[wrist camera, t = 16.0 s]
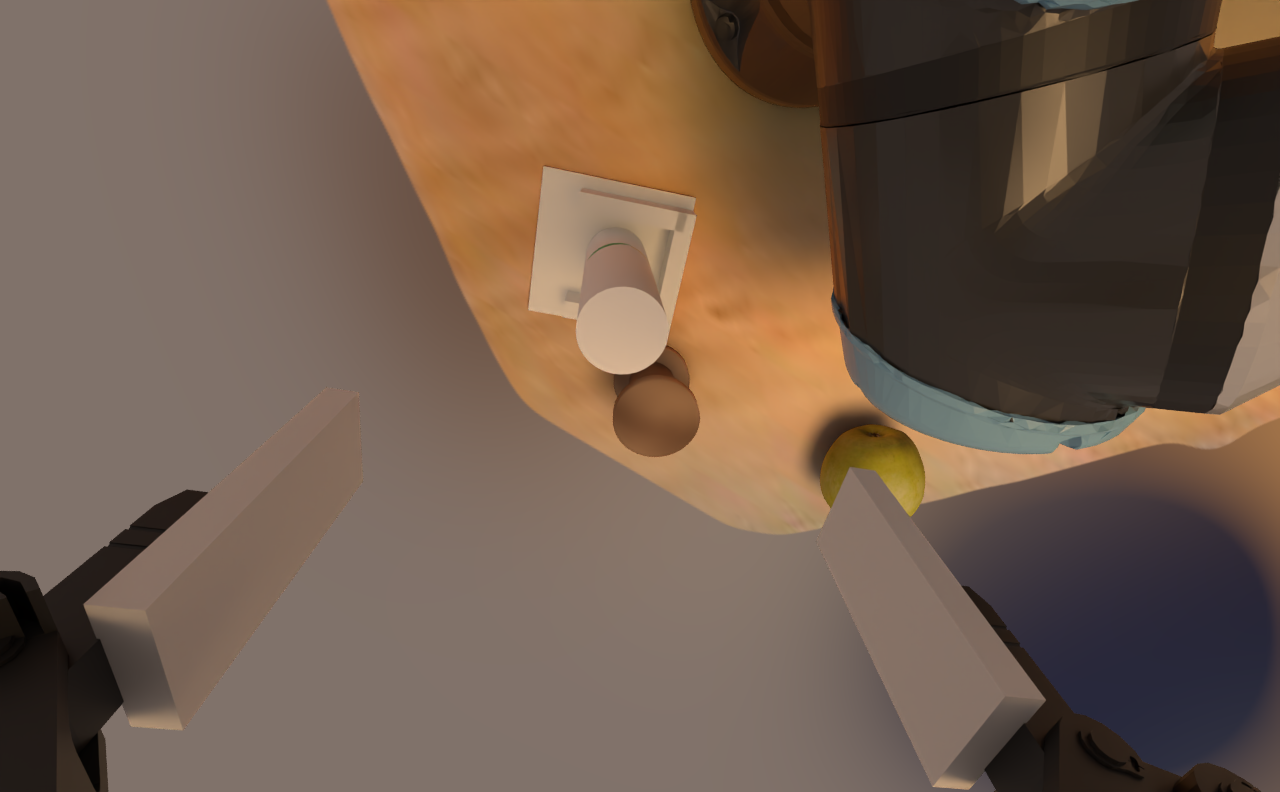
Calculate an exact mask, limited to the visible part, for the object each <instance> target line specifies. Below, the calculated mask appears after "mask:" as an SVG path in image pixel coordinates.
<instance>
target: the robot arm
mask: <svg viewBox="0 0 1280 792" xmlns="http://www.w3.org/2000/svg"><path fill="white" fill-rule="evenodd" d="M1221 2H1222V0H691V5H692V10H693V13H694V17H695V21H696V23H697V26H698V29H699V32H700V34H701V37H702V39H703V41H704V43H705V45H706V47H707V49H708V51H709V52H710V54H711V56H712V57H713V59H714V60H715V62H716V63H717V65H718V66H719V67H720V68H721V70H722V71H723V72H724V73H725V74H726V75H727V76H728V77H729V78H730V79H731V80H732V81H733V82H734V83H735V84H736V85H737V86H739V87H740V88H741V89H743V90H744V91H746V92H747V93H749V94H751V95H752V96H754V97H756V98H758V99H760V100H763V101H765V102H768V103H771V104H775V105H779V106H784V107H794V108H804V107H816V106H819V112H820V132H821V142H822V153H823V165H824V177H825V189H826V201H827V212H828V224H829V236H830V248H831V260H832V272H833V284H834V288H833V293H832V297H831V302H832V310H833V313H834V316H835V319H836V321H837V323H838V325H839V326H840V333H841V340H842V347H843V353H844V359H845V364H846V367H847V370H848V372H849V375H850V377H851V379H852V381H853V382H854V383H855V384H856V385H857V386H858V387H859V388H860V389H861V390H862V392H863V393H864V395H865V397H866V398H867V399H868V400H869V401H870V402H871V403H872V404H873V405H874V406H875V407H877V408H878V409H879V410H881V411H882V412H883V413H885V414H886V415H888V416H889V417H891V418H892V419H894V420H896V421H897V422H899V423H901V424H903V425H905V426H907V427H909V428H911V429H913V430H916V431H918V432H920V433H923V434H925V435H928V436H931V437H934V438H937V439H940V440H943V441H946V442H950V443H954V444H957V445H961V446H965V447H970V448H975V449H980V450H986V451H993V452H1001V453H1013V454H1047V453H1052V452H1053V451H1054V450H1055V449H1056V448H1057V447H1058V445H1059V443H1060V444H1062V445H1065V446H1067V447H1070V448H1073V449H1082V448H1086V447H1091V446H1095V445H1098V444H1101V443H1103V442H1105V441H1108V440H1110V439H1112V438H1113V437H1115V436H1117V435H1119V434H1120V433H1121V432H1122V431H1123V430H1124V429H1125V428H1127V427H1128V426H1129V425H1130V424H1131V423H1132V422H1134V420H1135V419H1136V418H1137V417H1138V416H1140V415H1141V414H1142V413H1143V412H1144V410H1145V408H1157V409H1166V410H1176V411H1185V412H1195V413H1204V414H1218V415H1220V414H1222V413H1225V412H1227V411H1229V410H1231V409H1233V408H1235V407H1237V406H1239V405H1241V404H1243V403H1245V402H1247V401H1249V400H1251V399H1253V398H1255V397H1257V396H1259V395H1261V394H1263V393H1265V392H1267V391H1269V390H1271V389H1273V388H1275V387H1277V386H1279V385H1280V37H1275V38H1271V39H1266V40H1261V41H1256V42H1251V43H1246V44H1242V45H1237V46H1232V47H1227V48H1222V49H1217V48H1215V47H1213V45H1214V38H1215V32H1216V29H1217V21H1218V17H1219V12H1220V7H1221ZM361 450H362V449H361V428H360V408H359V392H353V391H346V390H340V389H333V388H325V389H324V390H323V391H322V392H321V393H320V394H319V395H318V396H316V397H315V398H314V399H313V400H312V401H311V402H310V403H309V404H307V405H306V406H305V407H304V408H303V409H302V410H301V411H300V412H298V413H297V414H296V415H295V416H294V417H293V418H292V419H291V420H289V421H288V422H287V423H286V424H285V425H284V426H283V427H282V428H281V429H279V430H278V431H277V432H276V433H275V434H274V435H273V436H272V437H270V438H269V439H268V440H267V441H266V442H265V443H264V444H263V445H261V446H260V447H259V448H258V449H257V450H256V451H255V452H254V453H252V454H251V455H250V456H249V457H248V458H247V459H246V460H245V461H243V463H241V464H240V465H239V466H238V467H237V468H236V469H235V470H233V471H232V472H231V473H230V474H229V475H228V476H227V477H226V478H225V479H223V480H222V481H221V482H220V483H219V484H218V485H217V486H216V487H214V488H213V489H212V490H211V491H210V492H200V491H193V490H185V491H183V492H182V493H179V494H177V495H175V496H173V497H171V498H169V499H167V500H165V501H163V502H160V503H158V504H156V505H154V506H153V507H152V508H151V509H150V510H148V511H147V512H146V513H145V514H143V515H142V516H141V517H140V518H138V519H137V520H136V521H135V522H134V523H132V524H131V525H130V528H129V530H127V529H125V530H124V531H123V532H121V533H120V534H119V535H118V536H117V537H115V538H114V539H113V540H112V541H110V544H109V546H108V547H105V546H104V547H103V548H102V549H100V550H99V551H98V552H97V553H96V554H94V555H93V556H92V557H91V558H89V559H88V560H87V561H86V562H84V563H83V564H82V565H81V566H80V567H79V568H77V569H76V570H75V571H74V572H72V573H71V574H70V575H69V576H67V577H66V578H65V579H64V580H62V581H61V582H60V583H59V584H58V585H56V586H55V587H54V588H53V589H51V590H50V591H49V592H48V593H47V594H45V595H44V596H43V595H42V592H41V590H40V588H39V586H38V584H37V582H36V579H35V577H32V576H30V575H27V574H25V573H22V572H20V571H0V792H108V778H107V761H106V744H105V738H104V735H103V733H102V731H101V728H102V727H103V725H104V724H105V723H106V722H107V721H108V720H109V718H110V717H111V716H112V715H113V714H114V712H116V710H117V709H118V708H119V707H120V706H121V705H123V708H124V710H125V713H126V715H127V718H128V720H129V723H130V725H131V727H145V728H159V729H172V730H184V729H185V727H186V726H187V724H188V723H189V722H190V720H191V719H192V717H193V716H194V715H195V713H196V712H197V711H198V709H199V708H200V706H201V705H202V704H203V702H204V701H205V699H206V698H207V697H208V695H209V694H210V693H211V691H212V690H213V688H214V687H215V686H216V684H217V683H218V682H219V680H220V679H221V677H222V676H223V675H224V673H225V672H226V670H227V669H228V668H229V666H230V665H231V663H232V662H233V661H234V659H235V658H236V657H237V655H238V654H239V652H240V651H241V650H242V648H243V647H244V645H245V644H246V642H247V641H248V640H249V639H250V637H251V636H252V634H253V633H254V632H255V630H256V629H257V627H258V626H259V625H260V623H261V622H262V621H263V619H264V618H265V616H266V615H267V614H268V612H269V611H270V610H271V608H272V607H273V605H274V604H275V603H276V601H277V600H278V598H279V597H280V596H281V594H282V593H283V592H284V590H285V589H286V587H287V586H288V585H289V583H290V582H291V580H292V579H293V577H294V576H295V575H296V574H297V572H298V571H299V569H300V568H301V567H302V565H303V564H304V562H305V561H306V560H307V558H308V557H309V555H310V554H311V553H312V551H313V550H314V549H315V547H316V546H317V544H318V543H319V542H320V540H321V539H322V537H323V536H324V535H325V533H326V532H327V531H328V529H329V528H330V526H331V525H332V524H333V522H334V521H335V519H336V518H337V516H338V515H339V514H340V513H341V511H342V510H343V508H344V507H345V506H346V504H347V503H348V501H349V500H350V499H351V497H352V496H353V494H354V493H355V492H356V490H357V489H358V488H359V486H360V485H361V483H362V482H363V470H362V451H361ZM816 542H817V544H818V546H819V549H820V551H821V553H822V555H823V557H824V559H825V561H826V563H827V565H828V567H829V569H830V572H831V574H832V576H833V578H834V580H835V582H836V584H837V586H838V589H839V591H840V593H841V595H842V597H843V599H844V601H845V603H846V605H847V607H848V609H849V612H850V614H851V616H852V618H853V620H854V622H855V624H856V626H857V629H858V631H859V633H860V635H861V637H862V639H863V641H864V643H865V645H866V648H867V649H868V652H869V654H870V656H871V658H872V660H873V662H874V664H875V666H876V668H877V671H878V673H879V675H880V677H881V679H882V681H883V683H884V685H885V687H886V690H887V692H888V694H889V696H890V698H891V700H892V702H893V704H894V707H895V709H896V711H897V713H898V715H899V717H900V719H901V721H902V723H903V726H904V728H905V730H906V732H907V734H908V736H909V738H910V740H911V742H912V744H913V747H914V749H915V751H916V753H917V755H918V757H919V759H920V761H921V763H922V765H923V768H924V769H925V772H926V774H927V776H928V778H929V780H930V782H931V785H932V786H933V787H943V788H957V789H970V788H971V787H972V785H973V784H974V783H975V782H976V781H977V780H978V778H979V777H980V776H981V775H982V774H983V773H984V772H985V771H986V773H987V775H988V777H989V778H990V780H991V782H992V784H993V785H994V787H995V789H996V790H995V791H994V792H1261V791H1260V790H1258V789H1257V788H1256V787H1253V785H1251V784H1250V783H1249V782H1247V781H1246V780H1244V779H1243V778H1241V777H1239V776H1237V775H1235V774H1234V773H1232V772H1230V771H1228V770H1226V769H1225V768H1222V767H1219V766H1216V765H1213V764H1210V763H1202V764H1197V765H1195V766H1194V767H1193V768H1192V769H1191V770H1190V771H1188V772H1187V773H1186V774H1185V775H1184V776H1183V777H1181V776H1178V775H1176V774H1173V773H1170V772H1168V771H1165V770H1163V769H1160V768H1158V767H1155V766H1153V765H1150V764H1147V763H1145V762H1143V761H1142V760H1141V759H1140V757H1139V756H1138V755H1137V753H1136V752H1135V751H1134V750H1133V749H1132V748H1131V747H1130V746H1129V745H1128V744H1127V743H1126V742H1125V741H1124V740H1123V739H1122V738H1121V737H1120V736H1119V735H1117V734H1116V733H1114V732H1113V731H1112V730H1110V729H1109V728H1107V727H1106V726H1105V725H1103V724H1102V723H1100V722H1098V721H1096V720H1093V719H1091V718H1089V717H1087V716H1085V715H1080V714H1075V713H1073V711H1072V710H1071V709H1070V707H1069V706H1068V705H1067V704H1066V702H1065V701H1064V700H1063V699H1062V697H1061V696H1060V695H1059V693H1058V692H1057V691H1056V689H1055V688H1054V687H1053V685H1052V684H1051V683H1050V682H1049V680H1048V679H1047V678H1046V677H1045V675H1044V674H1043V673H1042V671H1041V670H1040V669H1039V667H1038V666H1037V665H1036V664H1035V662H1034V661H1033V660H1032V659H1031V657H1030V656H1029V655H1028V653H1027V652H1026V651H1025V649H1024V648H1021V647H1020V645H1019V644H1020V643H1019V642H1018V640H1017V639H1016V638H1015V636H1014V635H1013V634H1012V633H1011V631H1009V630H1007V629H1006V625H1005V624H1004V622H1003V621H1002V620H1001V618H1000V617H999V616H998V615H997V613H996V612H995V611H994V610H993V608H992V607H991V606H990V605H989V604H988V603H987V602H986V601H985V600H984V599H982V598H981V597H980V596H979V595H978V594H977V593H975V592H974V591H973V590H972V589H971V588H970V587H967V586H961V585H960V584H959V583H958V581H957V580H956V578H955V577H954V576H953V574H952V573H951V572H950V570H949V569H948V568H947V566H946V565H945V564H944V562H943V561H942V560H941V559H940V557H939V556H938V554H937V553H936V552H935V550H934V549H933V548H932V546H931V545H930V543H929V542H928V541H927V540H926V538H925V537H924V535H923V534H922V533H921V531H920V530H919V529H918V527H917V526H916V525H915V523H914V522H913V521H912V519H911V518H910V517H909V515H908V514H907V513H906V511H905V510H904V509H903V507H902V506H901V505H900V503H899V502H898V500H897V499H896V498H895V496H894V495H893V494H892V492H891V491H890V490H889V488H888V487H887V486H886V484H885V483H884V482H883V480H882V479H881V478H880V476H879V475H878V474H877V472H876V471H874V470H867V469H861V468H854V467H850V468H849V470H848V472H847V474H846V477H845V479H844V481H843V483H842V485H841V488H840V490H839V492H838V494H837V496H836V499H835V501H834V503H833V505H832V507H831V510H830V512H829V514H828V516H827V518H826V521H825V523H824V525H823V527H822V530H821V532H820V534H819V536H818V538H817V541H816Z"/></svg>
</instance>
